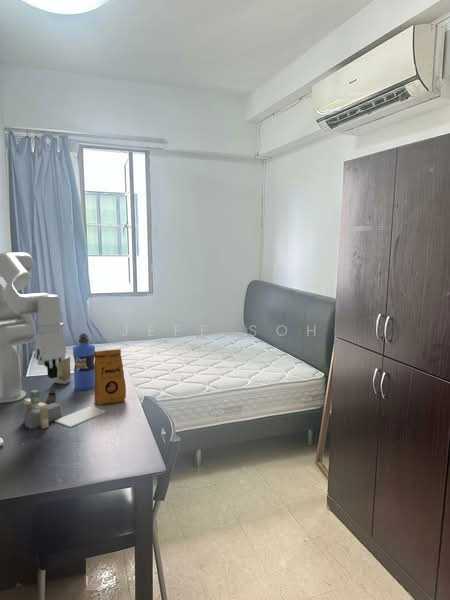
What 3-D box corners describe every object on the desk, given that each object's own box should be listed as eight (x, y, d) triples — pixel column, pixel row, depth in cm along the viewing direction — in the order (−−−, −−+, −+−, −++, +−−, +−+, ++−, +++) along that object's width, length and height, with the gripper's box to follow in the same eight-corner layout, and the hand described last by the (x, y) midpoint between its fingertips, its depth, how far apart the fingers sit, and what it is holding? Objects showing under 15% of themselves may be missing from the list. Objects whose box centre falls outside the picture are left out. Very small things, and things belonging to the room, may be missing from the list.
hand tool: (52, 415, 154) (52, 403, 154) (41, 416, 153) (40, 404, 153) (60, 397, 172) (60, 387, 172) (50, 398, 172) (50, 387, 171)
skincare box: (53, 383, 190) (52, 357, 188) (58, 380, 194) (57, 355, 192) (66, 384, 189) (65, 358, 187) (71, 381, 193) (70, 356, 191)
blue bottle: (80, 383, 189) (78, 331, 186) (99, 384, 188) (98, 332, 185) (70, 390, 180) (68, 335, 177) (90, 391, 179) (88, 336, 176)
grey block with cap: (24, 426, 144) (24, 413, 144) (57, 414, 155) (56, 401, 155) (31, 429, 142) (31, 415, 142) (63, 416, 153) (63, 403, 153)
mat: (54, 421, 148) (54, 420, 148) (90, 407, 162) (90, 406, 162) (70, 427, 143) (70, 426, 143) (105, 412, 157) (105, 411, 157)
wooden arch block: (24, 420, 148) (22, 388, 147) (29, 418, 150) (27, 387, 148) (43, 428, 142) (41, 395, 140) (48, 426, 144) (47, 393, 142)
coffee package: (127, 403, 166) (126, 351, 163) (95, 407, 162) (93, 354, 159) (124, 395, 175) (123, 345, 172) (93, 399, 171) (92, 348, 168)
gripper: (61, 324, 156) (63, 371, 158) (24, 330, 143) (27, 381, 145) (74, 326, 152) (76, 373, 154) (37, 333, 139) (40, 384, 141)
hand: (52, 377), depth 149 cm, fingers closed
